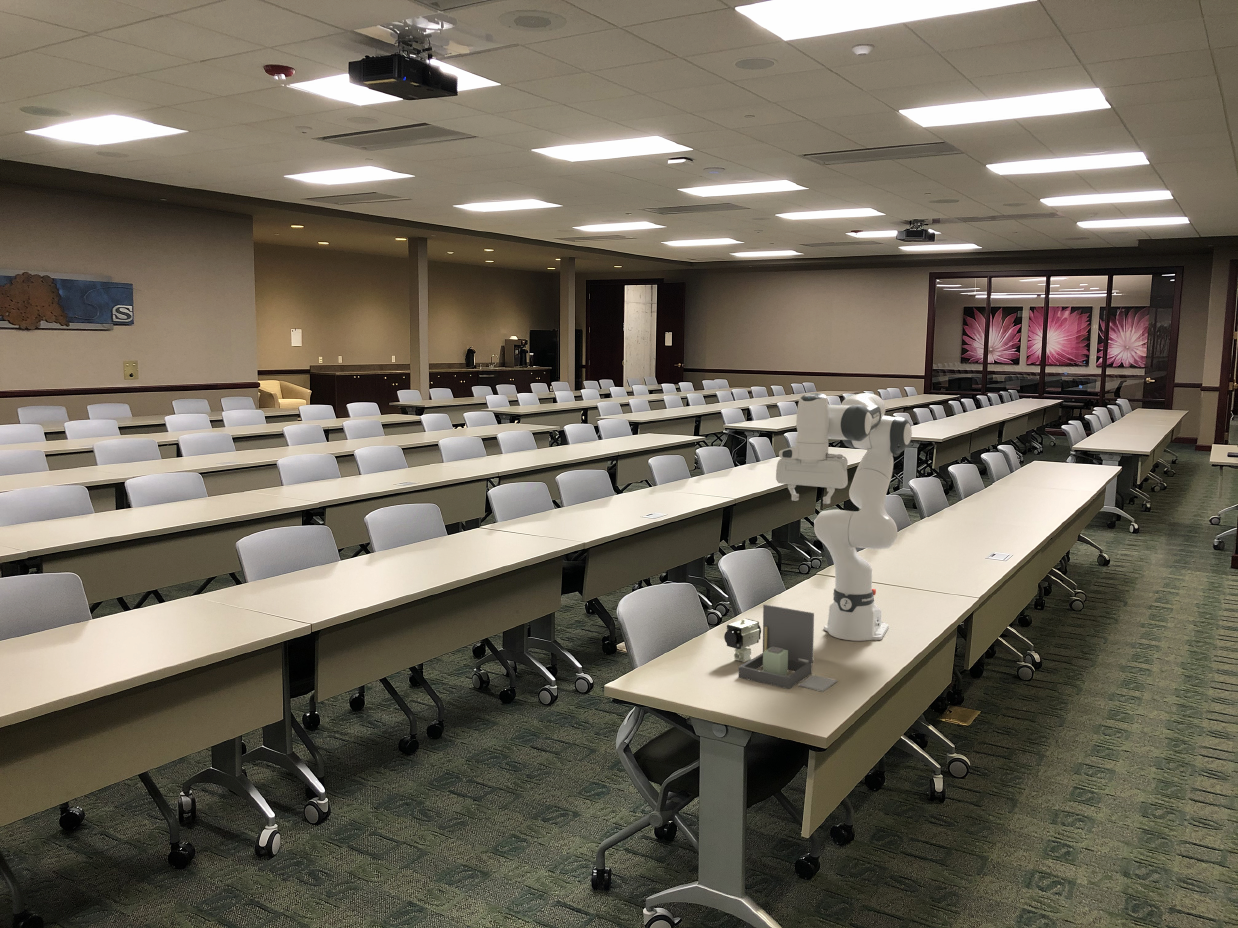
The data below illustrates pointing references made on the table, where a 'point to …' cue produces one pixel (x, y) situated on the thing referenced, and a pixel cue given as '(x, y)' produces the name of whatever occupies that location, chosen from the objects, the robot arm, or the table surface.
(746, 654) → the pneumatic valve
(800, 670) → the case
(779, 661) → the block
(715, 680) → the table surface
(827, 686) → the pad
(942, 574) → the table surface
